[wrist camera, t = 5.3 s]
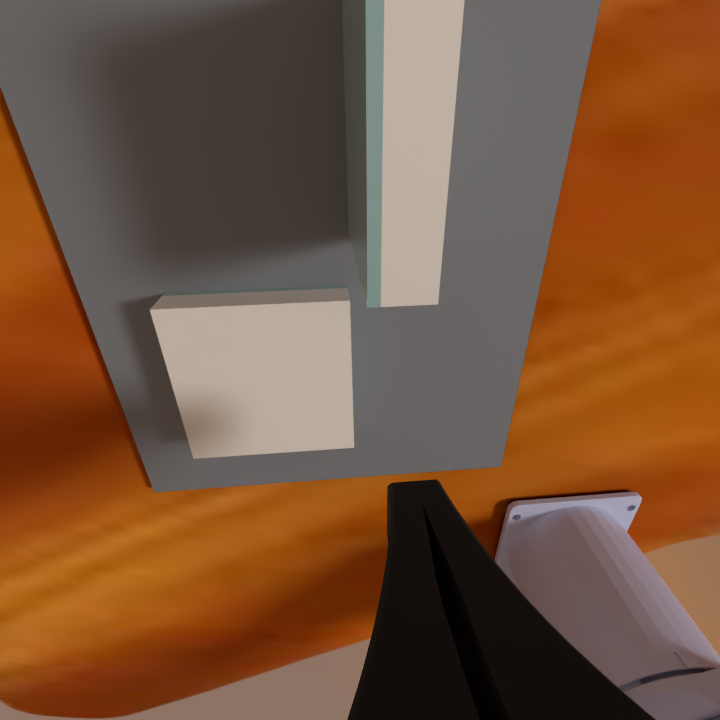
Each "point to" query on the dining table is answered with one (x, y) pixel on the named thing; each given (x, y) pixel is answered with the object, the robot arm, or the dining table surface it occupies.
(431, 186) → the tile
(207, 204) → the mat
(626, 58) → the dining table surface
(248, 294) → the tile
